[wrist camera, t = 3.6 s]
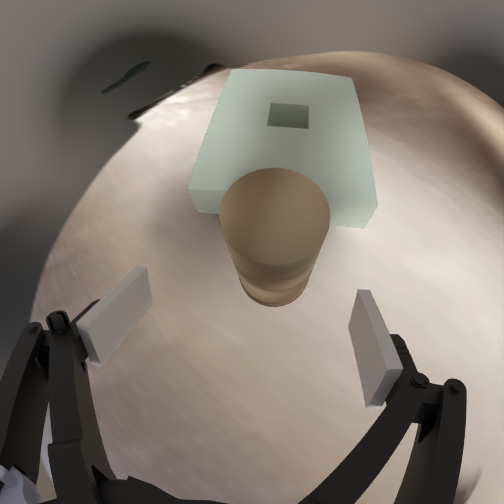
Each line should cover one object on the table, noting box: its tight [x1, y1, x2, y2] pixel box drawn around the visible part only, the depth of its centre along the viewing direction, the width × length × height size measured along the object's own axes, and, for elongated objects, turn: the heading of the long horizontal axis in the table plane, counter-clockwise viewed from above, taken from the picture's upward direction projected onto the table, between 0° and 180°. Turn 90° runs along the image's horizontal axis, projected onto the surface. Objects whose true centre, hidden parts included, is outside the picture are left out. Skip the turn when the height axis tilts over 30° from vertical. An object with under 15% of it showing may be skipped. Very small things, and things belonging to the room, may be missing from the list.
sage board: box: [187, 69, 378, 228], centre depth 34 cm, size 20×26×5 cm
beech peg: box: [219, 168, 330, 307], centre depth 21 cm, size 6×6×15 cm
